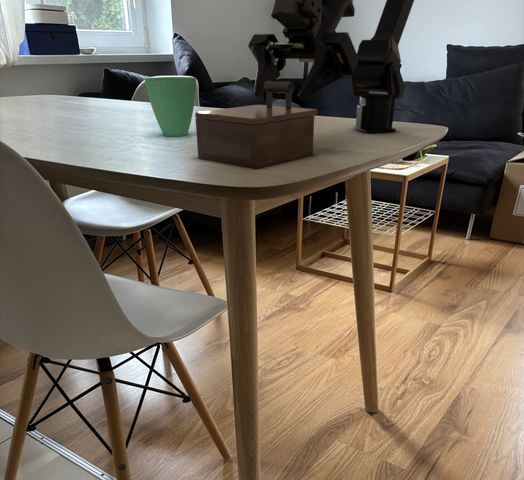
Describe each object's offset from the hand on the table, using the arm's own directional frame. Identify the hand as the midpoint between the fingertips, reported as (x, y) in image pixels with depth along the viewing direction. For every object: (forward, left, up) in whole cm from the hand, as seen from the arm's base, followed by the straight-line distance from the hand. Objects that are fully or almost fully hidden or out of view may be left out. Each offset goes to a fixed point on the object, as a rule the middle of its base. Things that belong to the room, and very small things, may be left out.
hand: (277, 97), depth 81 cm
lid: (+4, +3, -2) cm, 5 cm away
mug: (+14, -27, -8) cm, 32 cm away
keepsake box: (+4, +3, -8) cm, 10 cm away
